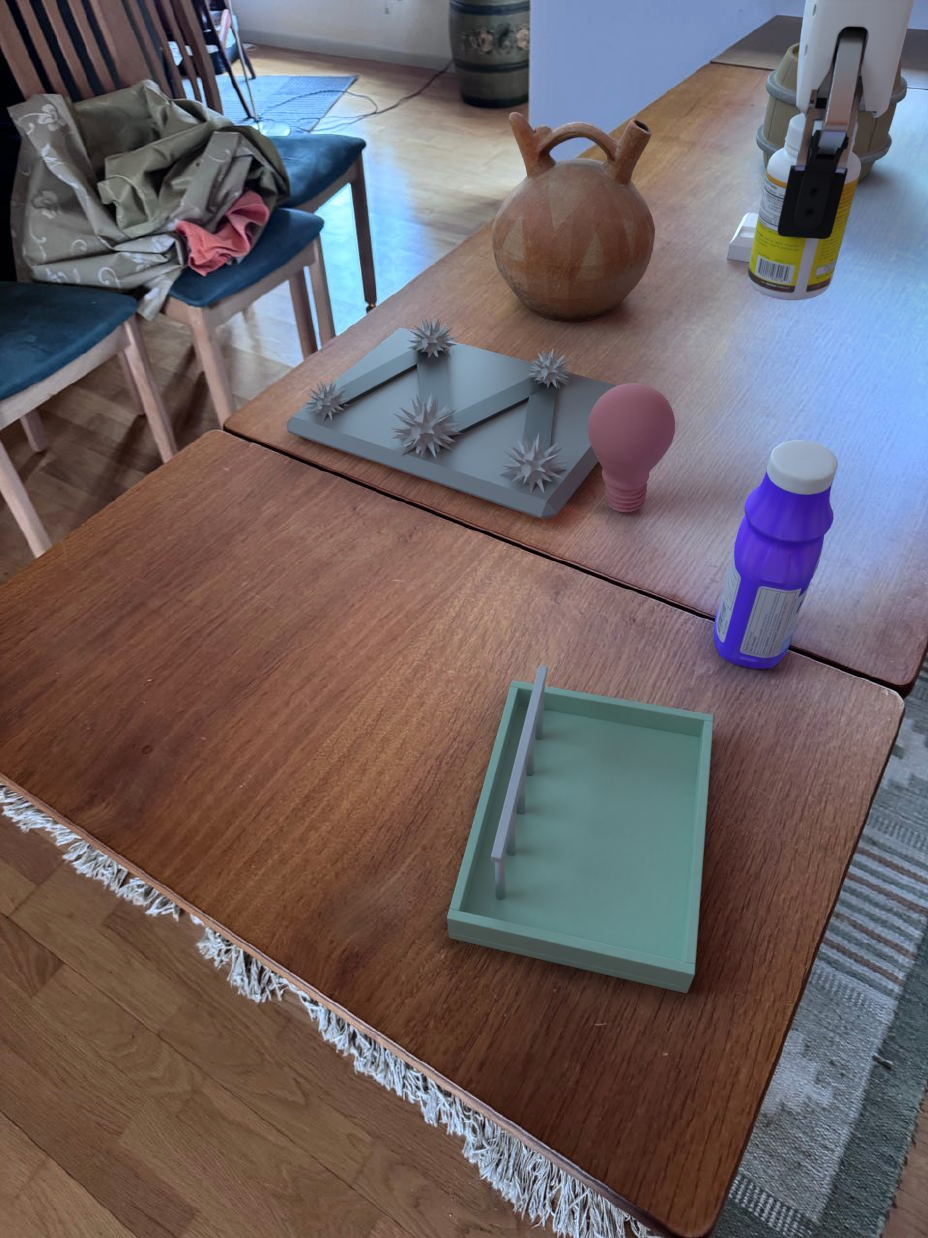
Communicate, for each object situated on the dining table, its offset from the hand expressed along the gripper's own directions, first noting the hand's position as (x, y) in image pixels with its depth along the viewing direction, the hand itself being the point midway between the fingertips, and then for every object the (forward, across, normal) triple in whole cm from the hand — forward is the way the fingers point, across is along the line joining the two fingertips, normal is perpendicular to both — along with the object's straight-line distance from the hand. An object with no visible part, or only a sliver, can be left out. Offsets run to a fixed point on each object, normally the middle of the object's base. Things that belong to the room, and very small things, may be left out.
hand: (804, 211), depth 57 cm
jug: (+27, +38, +21) cm, 51 cm away
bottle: (+27, -13, -2) cm, 30 cm away
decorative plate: (+27, +10, +27) cm, 39 cm away
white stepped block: (+27, +56, +1) cm, 62 cm away
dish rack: (+27, -32, +7) cm, 42 cm away
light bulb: (+27, +1, +10) cm, 29 cm away
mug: (+27, +82, -6) cm, 86 cm away
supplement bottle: (+5, 0, 0) cm, 5 cm away
